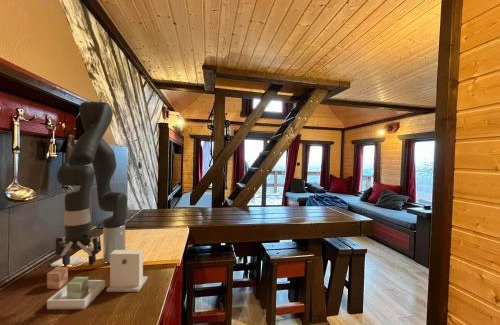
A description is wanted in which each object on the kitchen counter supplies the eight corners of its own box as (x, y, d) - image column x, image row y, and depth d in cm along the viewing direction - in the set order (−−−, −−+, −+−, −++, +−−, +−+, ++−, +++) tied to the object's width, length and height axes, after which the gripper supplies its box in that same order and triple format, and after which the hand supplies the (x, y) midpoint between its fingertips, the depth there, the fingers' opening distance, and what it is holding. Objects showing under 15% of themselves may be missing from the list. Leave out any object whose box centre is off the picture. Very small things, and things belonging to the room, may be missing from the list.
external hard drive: (65, 259, 114) (90, 260, 113) (50, 267, 105) (77, 268, 105) (65, 255, 114) (90, 257, 113) (50, 264, 105) (77, 265, 105)
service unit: (118, 278, 97) (118, 246, 97) (147, 278, 98) (147, 246, 97) (106, 291, 88) (106, 255, 88) (138, 291, 89) (138, 256, 88)
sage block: (75, 292, 86) (75, 276, 86) (88, 292, 87) (88, 276, 86) (67, 300, 82) (66, 283, 82) (80, 300, 82) (80, 283, 82)
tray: (72, 287, 90) (72, 280, 90) (105, 287, 91) (105, 280, 91) (47, 309, 78) (46, 300, 78) (84, 309, 79) (84, 300, 78)
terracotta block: (56, 282, 94) (56, 267, 93) (67, 282, 94) (67, 267, 94) (47, 288, 89) (46, 273, 89) (59, 288, 89) (59, 273, 89)
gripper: (104, 217, 87) (105, 259, 88) (64, 217, 86) (66, 259, 87) (92, 224, 80) (93, 270, 81) (48, 224, 79) (50, 270, 80)
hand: (79, 264), depth 84 cm, fingers open, 8 cm apart
